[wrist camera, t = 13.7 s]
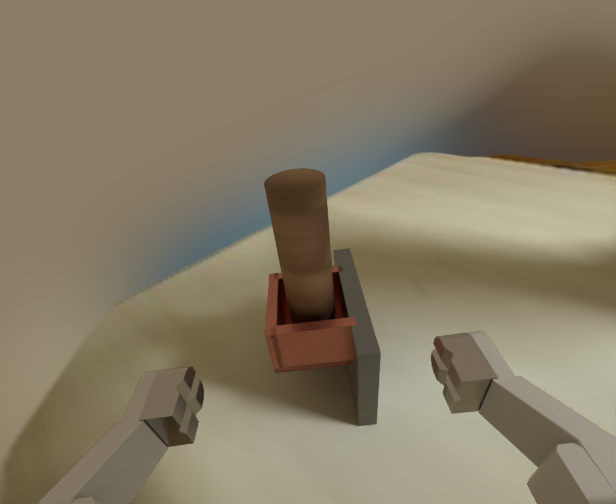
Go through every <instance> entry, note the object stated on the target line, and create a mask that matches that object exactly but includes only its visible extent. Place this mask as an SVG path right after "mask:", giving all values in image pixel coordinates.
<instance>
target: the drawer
mask: <svg viewBox="0 0 616 504" xmlns="http://www.w3.org/2000/svg"><path fill="white" fill-rule="evenodd" d="M334 259H335V266H334V267H332V276H333V290H334V303H335V317H336V319H331V320H323V321H314V322H305V323H297V324H292V322H291V317H290V312H289V307H288V302H287V297H286V292H285V287H284V282H283V277H282V273H275V274H269V288H268V302H267V316H266V330H265V337H266V341H267V344H268V348H269V351H270V355H271V358H272V362H273V365H274V369H275V373H279V372H288V371H297V370H306V369H314V368H323V367H332V366H341V365H347V367H348V372H349V377H350V383H351V388H352V393H353V399H354V404H355V409H356V415H357V420H358V425H359V426H362V425H371V424H377V408H378V390H379V372H380V354H381V353H380V349H379V346H378V343H377V339H376V336H375V333H374V329H373V326H372V323H371V319H370V316H369V313H368V309H367V306H366V303H365V299H364V296H363V293H362V289H361V286H360V283H359V279H358V276H357V273H356V269H355V266H354V263H353V259H352V256H351V253H350V249H341V250H334Z"/></svg>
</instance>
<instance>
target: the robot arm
mask: <svg viewBox="0 0 616 504" xmlns="http://www.w3.org/2000/svg"><path fill="white" fill-rule="evenodd" d="M433 344H434V346H435V348H436V349H434V350H433V351H432V354H431V363H432V368H433V372H434V374H435V377H436V379H437V381H439V382H440V383H441V384H443V385H444V389H443V395H444V398H445V400H446V402H447V404H448V407H449V409H450V411H451V413H463V412H475V411H479V413H480V414H481V415H482V416H483V417H484V418H485V419H486V420H487V421H488V422H489V423H490V424H492V425H493V426H494V427H495V428H496V429H497V430H498V431H499V432H500V433H501V434H502V435H503V436H505V437H506V438H507V439H508V440H509V441H510V442H511V443H512V444H513V445H514V446H515V447H517V448H518V449H519V450H520V451H521V452H522V453H523V454H524V455H525V456H526V457H527V458H528V459H530V460H531V461H532V462H533V463H534V464H535V465H536V466H537V467H538V469H537V470H536V471H535V472H534V473H533V474H532V476H531V477H530V478H529V480H528V483H527V485H528V487H529V489H530V491H531V493H532V495H533V497H534V499H535V501H536V502H537V504H616V438H615V437H614V436H612V435H611V434H609V433H608V432H606V431H605V430H603V429H602V428H600V427H599V426H597V425H595V424H594V423H592V422H591V421H589V420H588V419H586V418H585V417H583V416H582V415H580V414H578V413H577V412H575V411H574V410H572V409H571V408H569V407H568V406H566V405H565V404H563V403H562V402H560V401H558V400H557V399H555V398H554V397H552V396H551V395H549V394H548V393H546V392H545V391H543V390H541V389H540V388H538V387H537V386H535V385H534V384H532V383H531V382H529V381H528V380H526V379H525V378H523V377H521V376H515V374H514V373H513V371H512V370H511V369H510V367H509V366H508V364H507V363H506V361H505V360H504V358H503V357H502V355H501V354H500V352H499V351H498V349H497V348H496V346H495V345H494V343H493V342H492V341H491V339H490V338H489V336H488V335H487V333H485V332H484V331H477V332H470V333H459V334H452V335H444V336H437V337H436V338H435V339H434V343H433ZM195 373H196V372H195V370H194V369H193V367H184V368H175V369H166V370H156V371H147V372H145V373H144V374H143V375H142V376H141V378H140V380H139V383H138V385H137V387H136V390H135V392H134V394H133V397H132V399H131V401H130V404H129V406H128V408H127V410H126V413H125V415H124V417H123V420H122V422H121V423H117V424H116V425H115V426H114V427H113V428H112V429H111V430H110V431H109V432H108V433H107V434H106V435H105V436H104V437H103V438H102V439H101V440H100V441H99V442H98V443H97V444H96V445H95V446H94V447H93V448H92V449H91V450H90V451H89V452H88V453H87V454H86V455H85V456H84V457H83V458H82V459H81V460H80V461H79V462H78V463H77V464H76V465H75V466H74V467H73V468H72V469H71V470H70V471H69V472H68V473H67V474H66V475H65V476H64V477H63V478H62V479H61V480H60V481H59V482H58V483H57V484H56V485H55V486H54V487H53V488H52V489H51V490H50V491H49V492H48V493H47V494H46V495H45V496H44V497H43V498H42V499H41V500H40V501H39V503H38V504H129V503H130V502H131V501H132V499H133V498H134V496H135V495H136V493H137V492H138V491H139V489H140V488H141V486H142V485H143V484H144V482H145V481H146V479H147V478H148V476H149V475H150V474H151V472H152V471H153V469H154V468H155V467H156V465H157V464H158V462H159V461H160V459H161V458H162V457H163V455H164V454H165V452H166V451H167V450H168V448H167V447H171V446H178V445H185V444H192V443H194V440H195V435H196V431H197V427H198V422H199V421H198V419H197V417H196V414H197V413H198V412H199V411H200V409H201V408H202V405H203V400H204V389H203V384H202V382H201V380H200V379H198V378H196V377H195Z"/></svg>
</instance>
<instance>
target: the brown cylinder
mask: <svg viewBox="0 0 616 504" xmlns="http://www.w3.org/2000/svg"><path fill="white" fill-rule="evenodd" d="M264 186H265V191H266V196H267V201H268V206H269V211H270V216H271V221H272V226H273V231H274V236H275V241H276V246H277V251H278V256H279V261H280V267H281V272H282V277H283V282H284V287H285V292H286V297H287V302H288V307H289V312H290V317H291V322H292V324H297V323H305V322H314V321H323V320H331V319H336V317H335V303H334V290H333V276H332V263H331V249H330V235H329V222H328V208H327V196H326V181H325V175H324V174H323V173H322V172H320V171H318V170H314V169H304V168H303V169H291V170H286V171H282V172H279V173H276V174H274V175H272V176H270V177H269V178H268V179H267V180H266V181H265V183H264Z"/></svg>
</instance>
